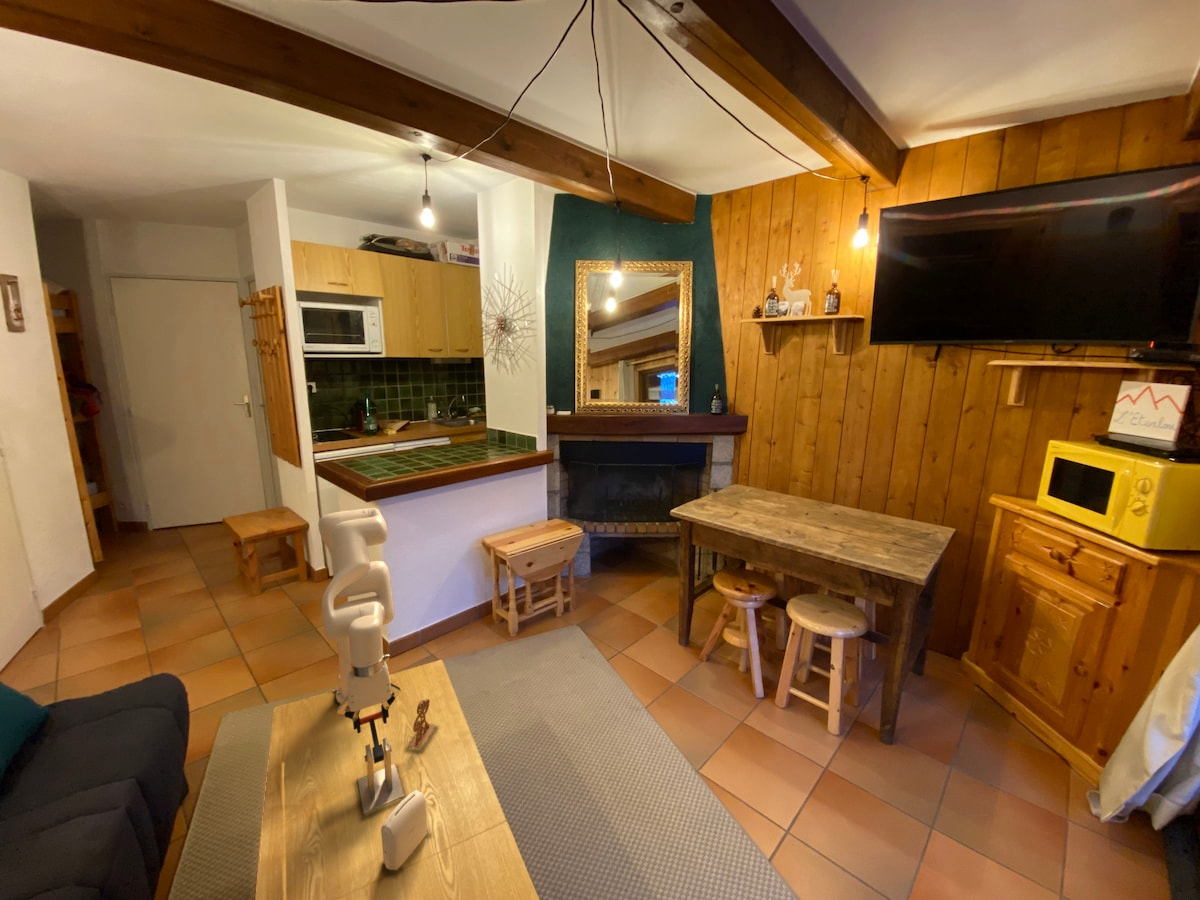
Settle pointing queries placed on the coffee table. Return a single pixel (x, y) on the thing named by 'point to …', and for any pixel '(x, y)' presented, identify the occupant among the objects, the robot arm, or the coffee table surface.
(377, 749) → the lever
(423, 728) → the brown filigree ornament
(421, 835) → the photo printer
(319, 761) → the coffee table surface
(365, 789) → the bracket
